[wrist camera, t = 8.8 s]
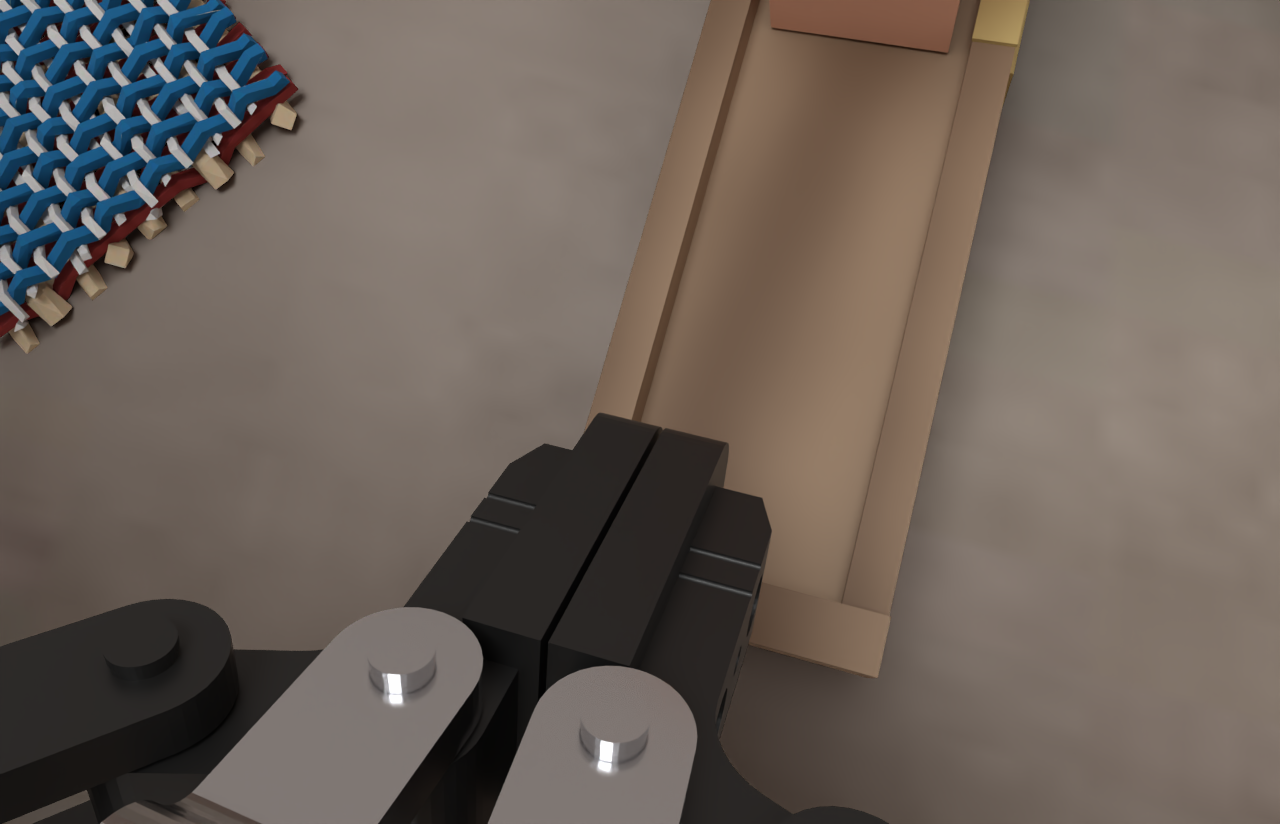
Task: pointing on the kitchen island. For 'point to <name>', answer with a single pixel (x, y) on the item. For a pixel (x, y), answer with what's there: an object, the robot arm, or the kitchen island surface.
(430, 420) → the kitchen island surface
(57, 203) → the woven mat
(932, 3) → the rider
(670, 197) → the beam
